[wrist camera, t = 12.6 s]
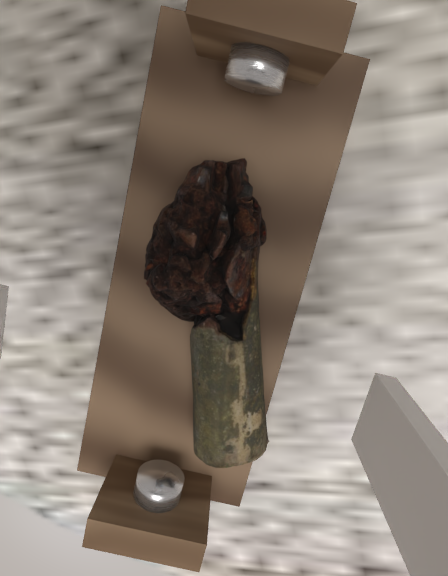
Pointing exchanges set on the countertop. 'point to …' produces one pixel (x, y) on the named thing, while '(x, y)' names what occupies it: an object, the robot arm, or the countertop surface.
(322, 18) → the shaft stand
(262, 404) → the lumpy brown club
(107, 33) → the countertop surface
